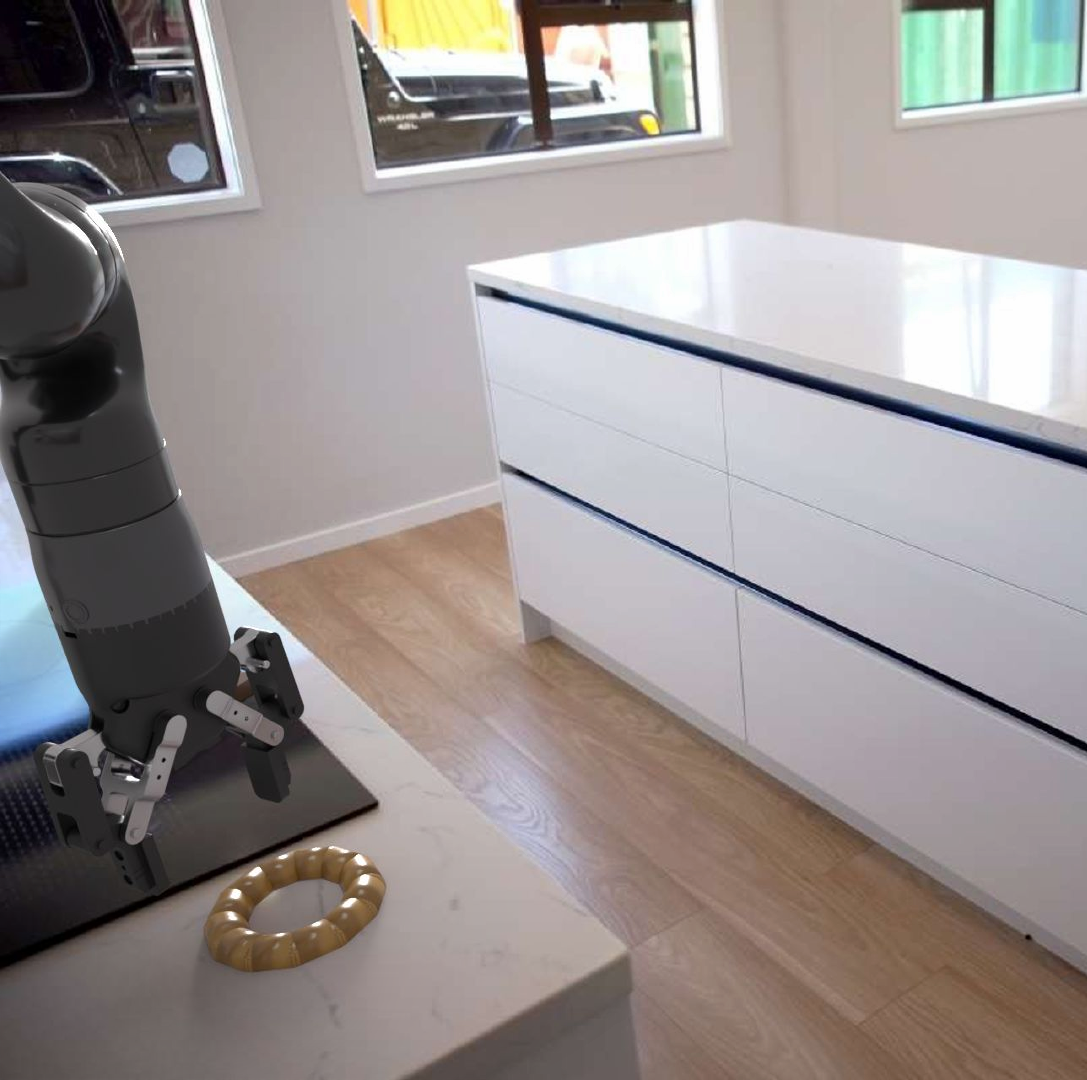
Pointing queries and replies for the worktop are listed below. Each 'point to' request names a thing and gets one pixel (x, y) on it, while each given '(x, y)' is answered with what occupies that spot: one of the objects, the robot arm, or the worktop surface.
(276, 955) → the ring
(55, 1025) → the worktop surface
